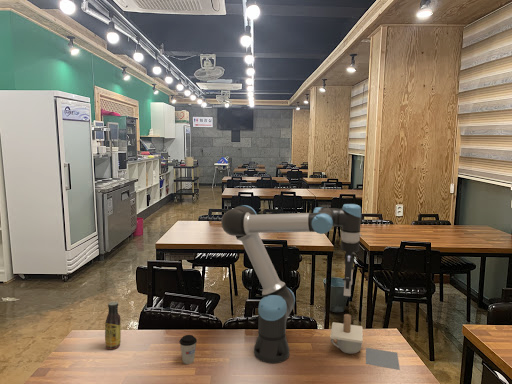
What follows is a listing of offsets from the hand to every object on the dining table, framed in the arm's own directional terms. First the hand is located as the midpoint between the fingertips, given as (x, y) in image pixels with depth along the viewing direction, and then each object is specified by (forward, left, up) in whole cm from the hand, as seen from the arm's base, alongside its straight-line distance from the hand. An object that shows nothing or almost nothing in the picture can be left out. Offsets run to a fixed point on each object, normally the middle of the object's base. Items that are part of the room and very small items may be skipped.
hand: (348, 289), depth 157 cm
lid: (0, 0, -19) cm, 19 cm away
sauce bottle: (-97, -29, -27) cm, 105 cm away
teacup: (0, -1, -28) cm, 28 cm away
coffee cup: (-61, -29, -27) cm, 73 cm away
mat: (+15, -3, -27) cm, 31 cm away
